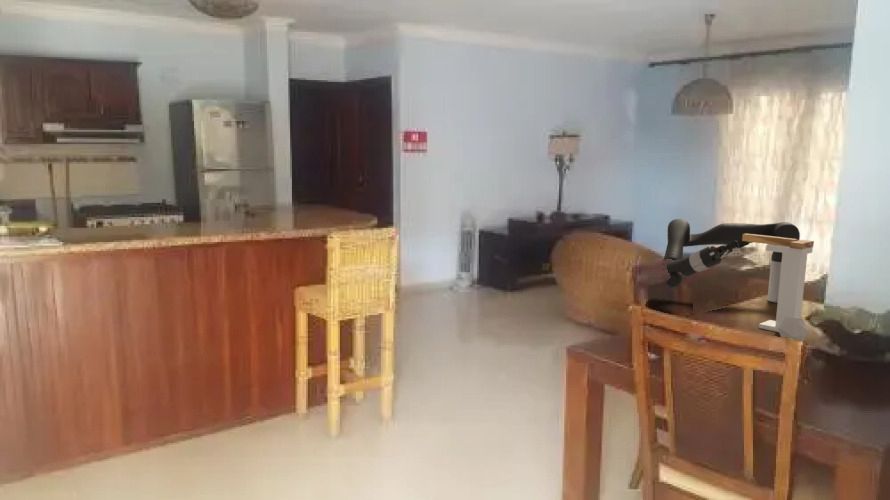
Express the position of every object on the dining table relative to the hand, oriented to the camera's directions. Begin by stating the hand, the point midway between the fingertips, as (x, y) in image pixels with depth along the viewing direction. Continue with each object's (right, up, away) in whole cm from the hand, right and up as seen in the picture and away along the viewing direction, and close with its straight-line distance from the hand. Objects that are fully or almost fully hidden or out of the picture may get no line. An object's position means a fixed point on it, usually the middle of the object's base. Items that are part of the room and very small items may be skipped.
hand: (742, 242), depth 249 cm
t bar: (+9, -1, -9) cm, 12 cm away
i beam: (+11, -31, -7) cm, 34 cm away
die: (+6, -34, -23) cm, 41 cm away
